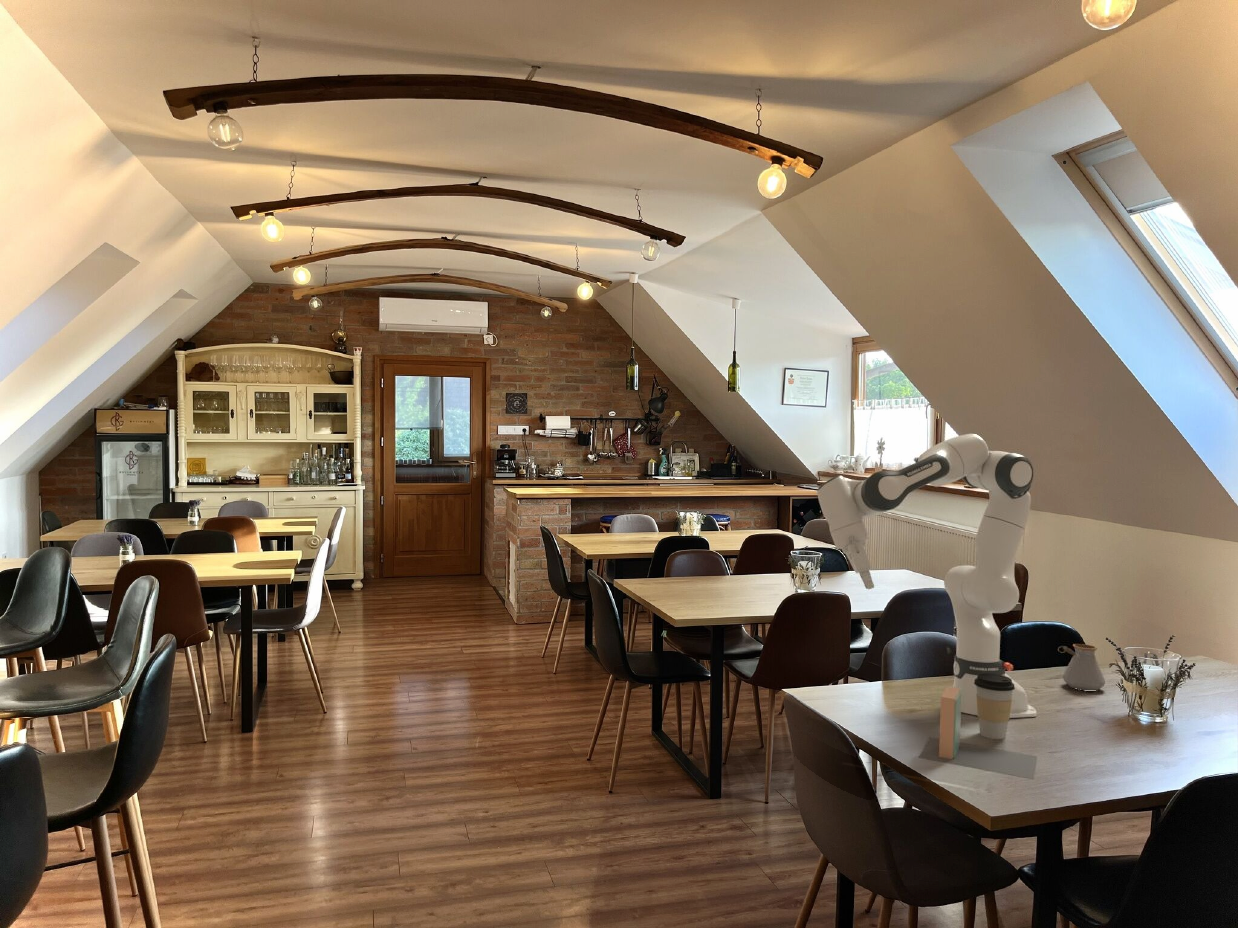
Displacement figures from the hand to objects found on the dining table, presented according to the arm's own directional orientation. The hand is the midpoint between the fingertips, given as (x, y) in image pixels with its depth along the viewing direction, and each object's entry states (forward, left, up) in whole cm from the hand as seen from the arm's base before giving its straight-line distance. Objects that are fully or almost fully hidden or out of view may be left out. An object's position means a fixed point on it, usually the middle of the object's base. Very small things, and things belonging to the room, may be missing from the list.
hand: (870, 588), depth 221 cm
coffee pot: (-75, -35, -36) cm, 90 cm away
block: (-14, +19, -35) cm, 42 cm away
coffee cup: (-30, +7, -36) cm, 47 cm away
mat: (-20, +22, -36) cm, 46 cm away
